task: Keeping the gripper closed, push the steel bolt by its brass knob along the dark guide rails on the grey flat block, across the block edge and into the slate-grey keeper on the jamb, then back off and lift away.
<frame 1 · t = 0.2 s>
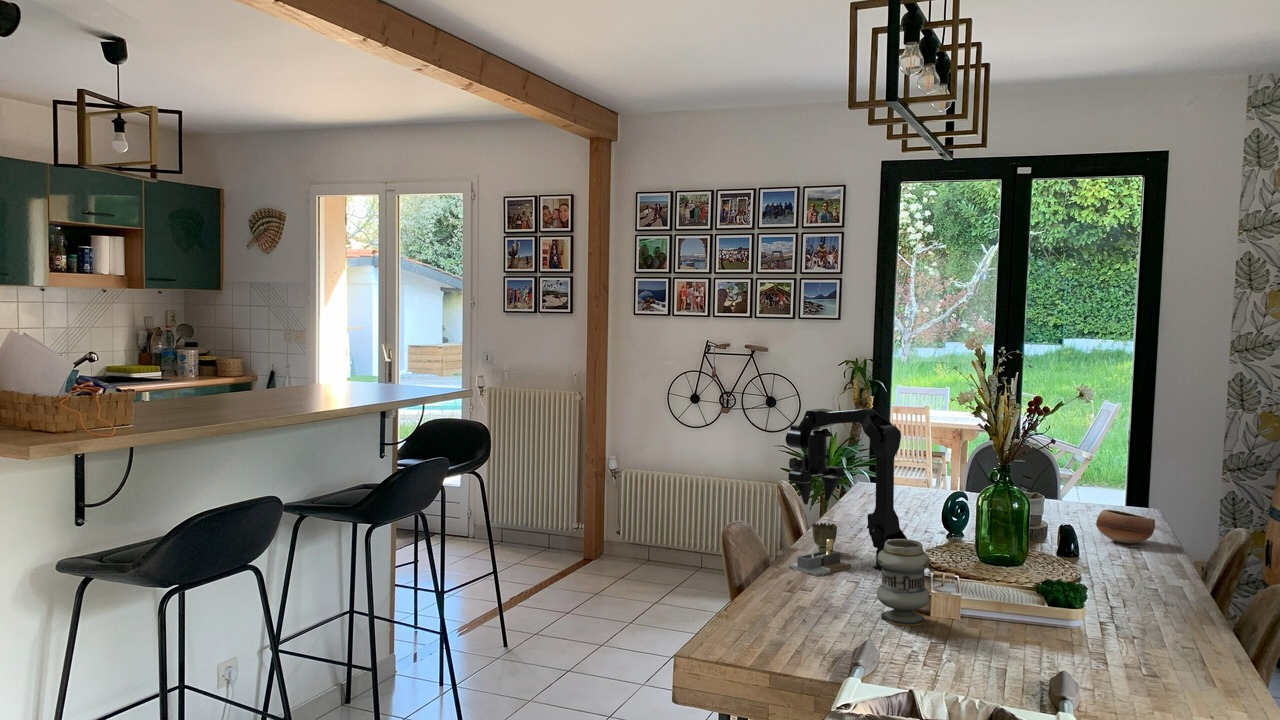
hand: (816, 502, 285), 14 cm above the table, fingers open, 9 cm apart
cup: (824, 552, 283), on the table
bowl: (1123, 543, 297), on the table
apothecary jar: (902, 620, 220), on the table
bolt: (825, 551, 266), point 4 cm above the table, slide at 0.0 cm
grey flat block: (827, 566, 266), on the table
jamb keeper: (809, 570, 262), on the table
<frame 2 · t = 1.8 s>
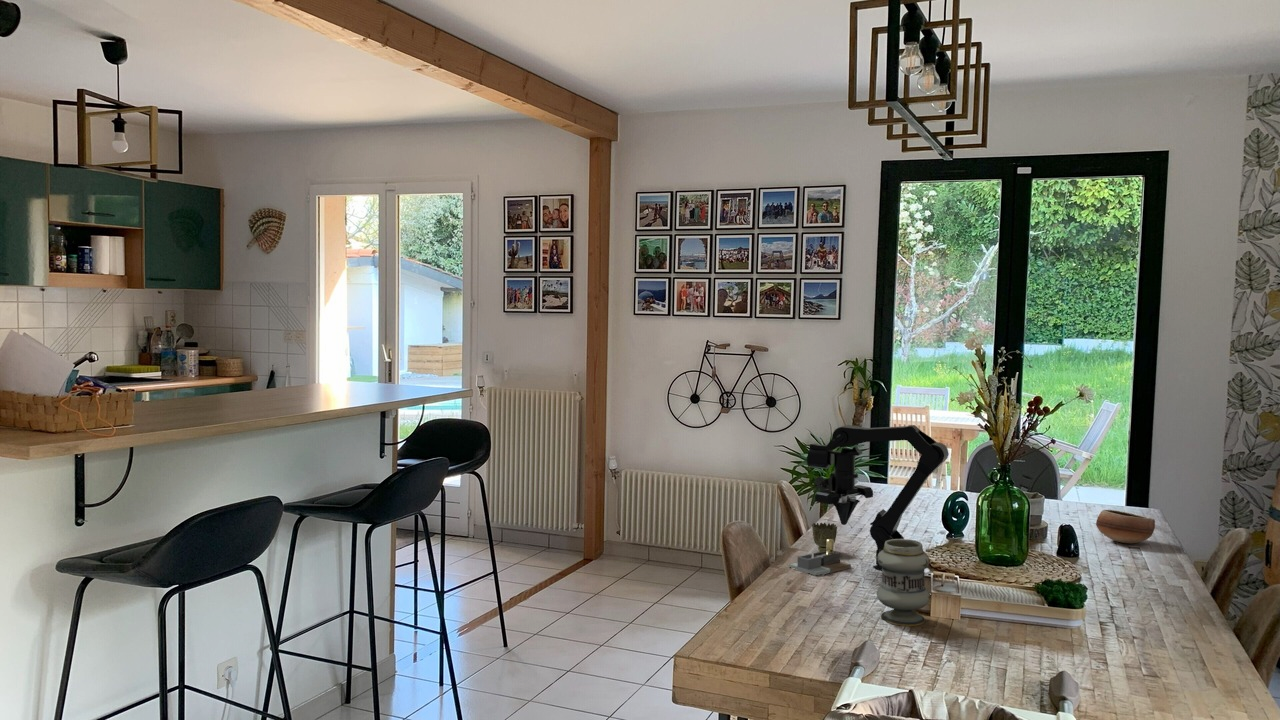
hand: (843, 524, 270), 11 cm above the table, fingers closed
nothing on the table moved.
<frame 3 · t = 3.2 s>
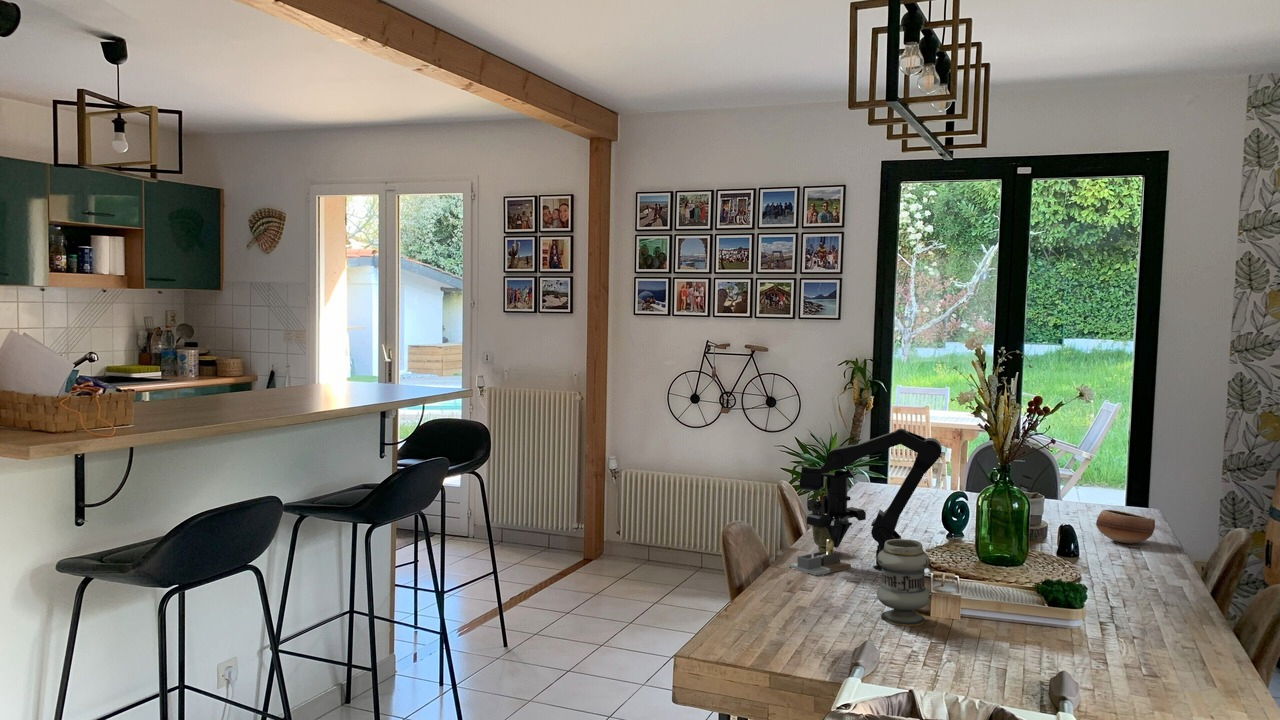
hand: (835, 547, 268), 5 cm above the table, fingers closed
bolt: (825, 551, 266), point 4 cm above the table, slide at 0.0 cm, touching gripper
everything else where it was.
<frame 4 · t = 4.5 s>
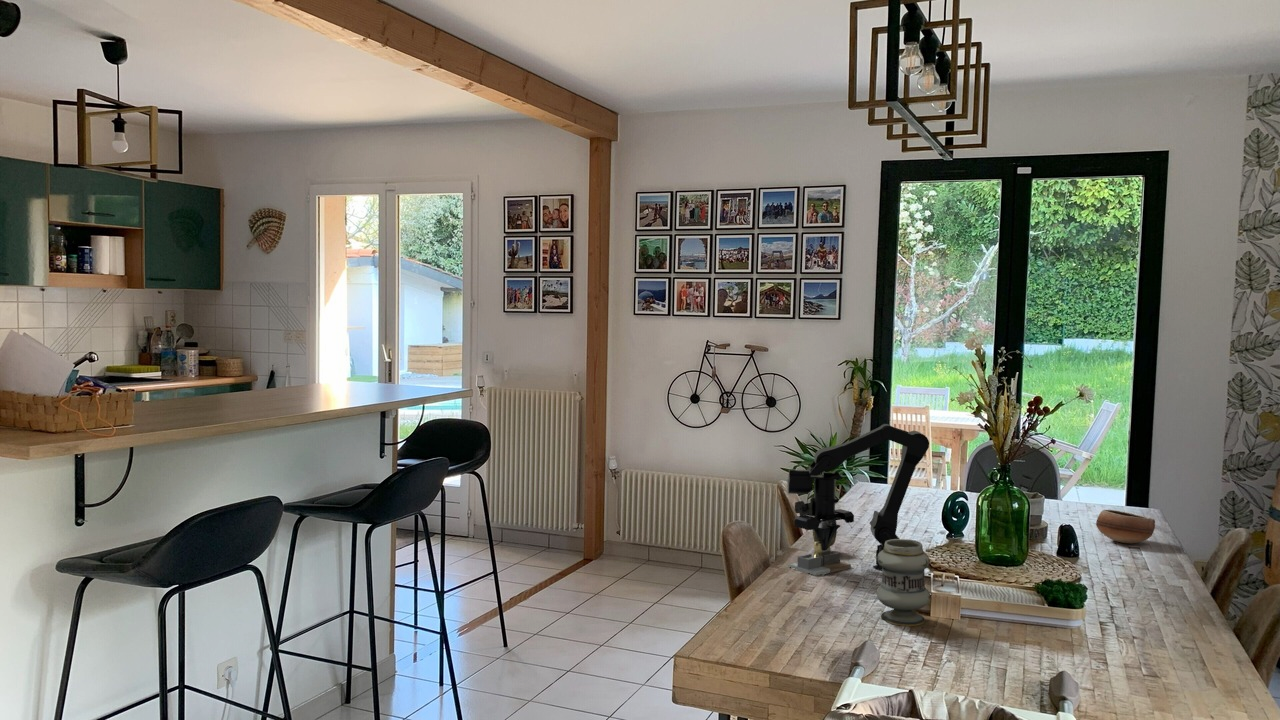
hand: (823, 549, 265), 5 cm above the table, fingers closed
bolt: (812, 554, 263), point 4 cm above the table, slide at 5.0 cm, touching gripper
everything else where it was.
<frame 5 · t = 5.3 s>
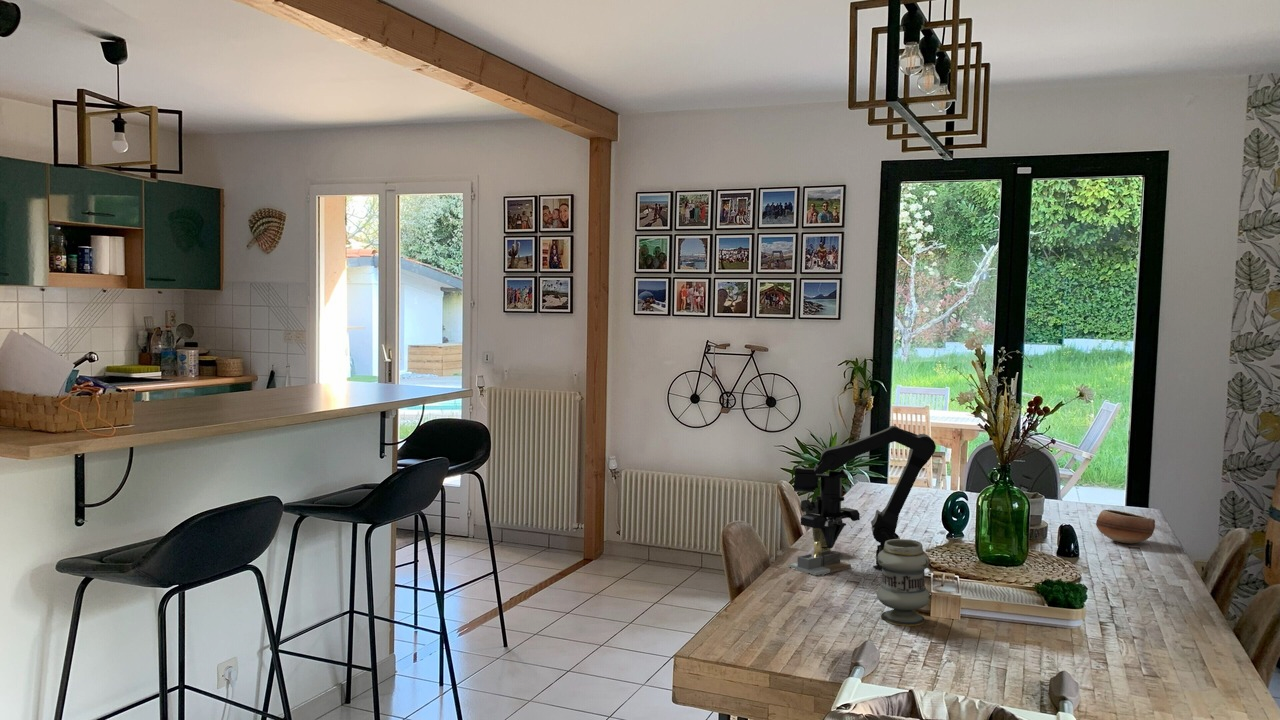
hand: (830, 548, 267), 5 cm above the table, fingers closed
bolt: (812, 554, 263), point 4 cm above the table, slide at 5.0 cm
everything else where it was.
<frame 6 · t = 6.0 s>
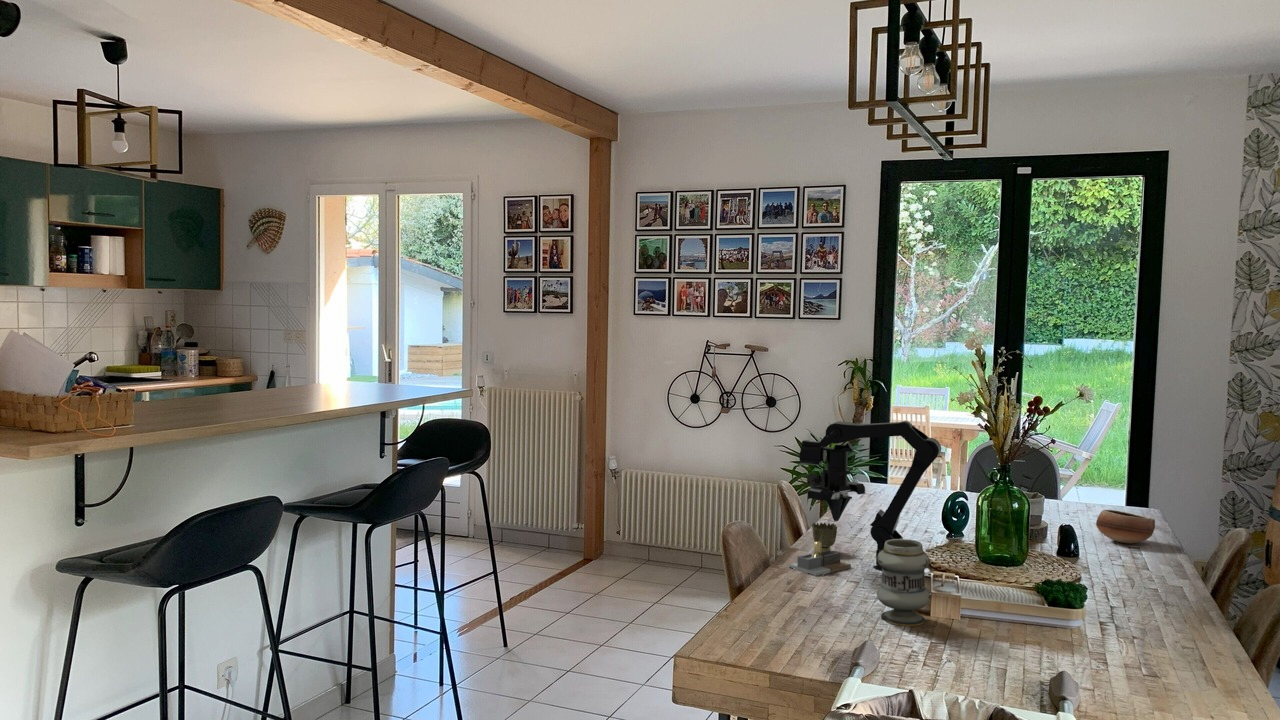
hand: (836, 521, 269), 12 cm above the table, fingers closed
nothing on the table moved.
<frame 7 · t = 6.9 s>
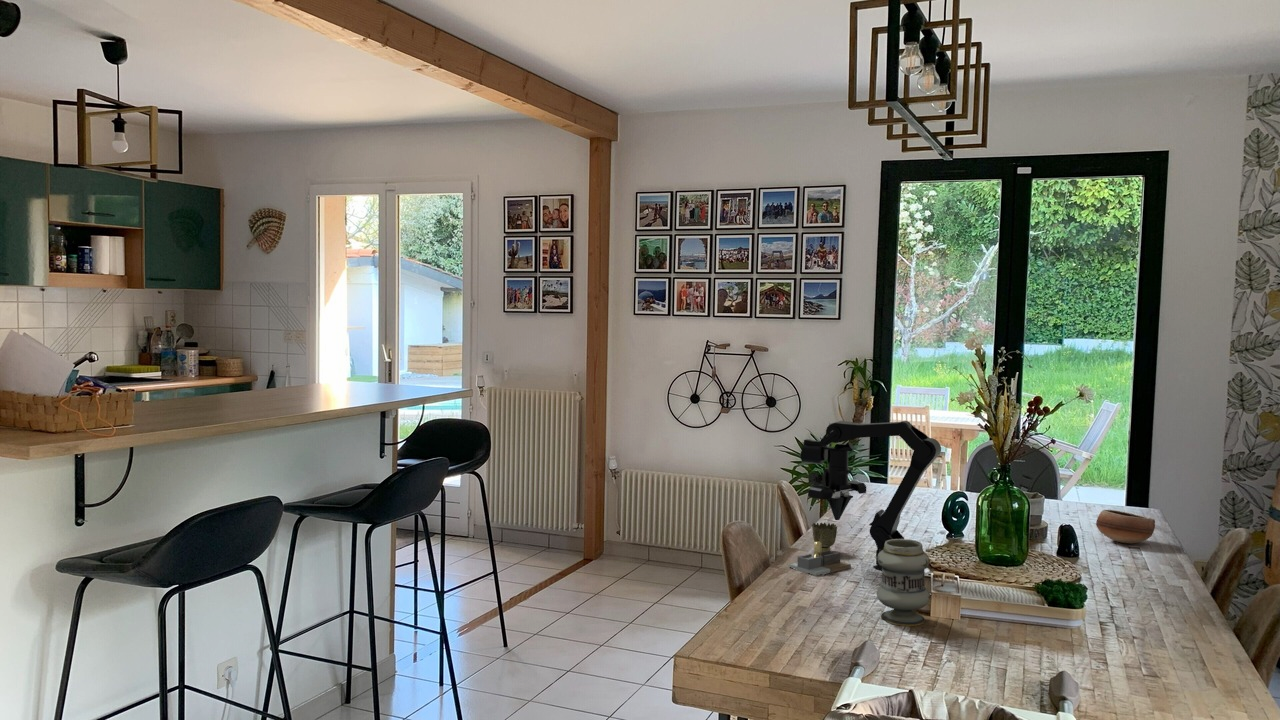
hand: (837, 519, 271), 12 cm above the table, fingers closed
nothing on the table moved.
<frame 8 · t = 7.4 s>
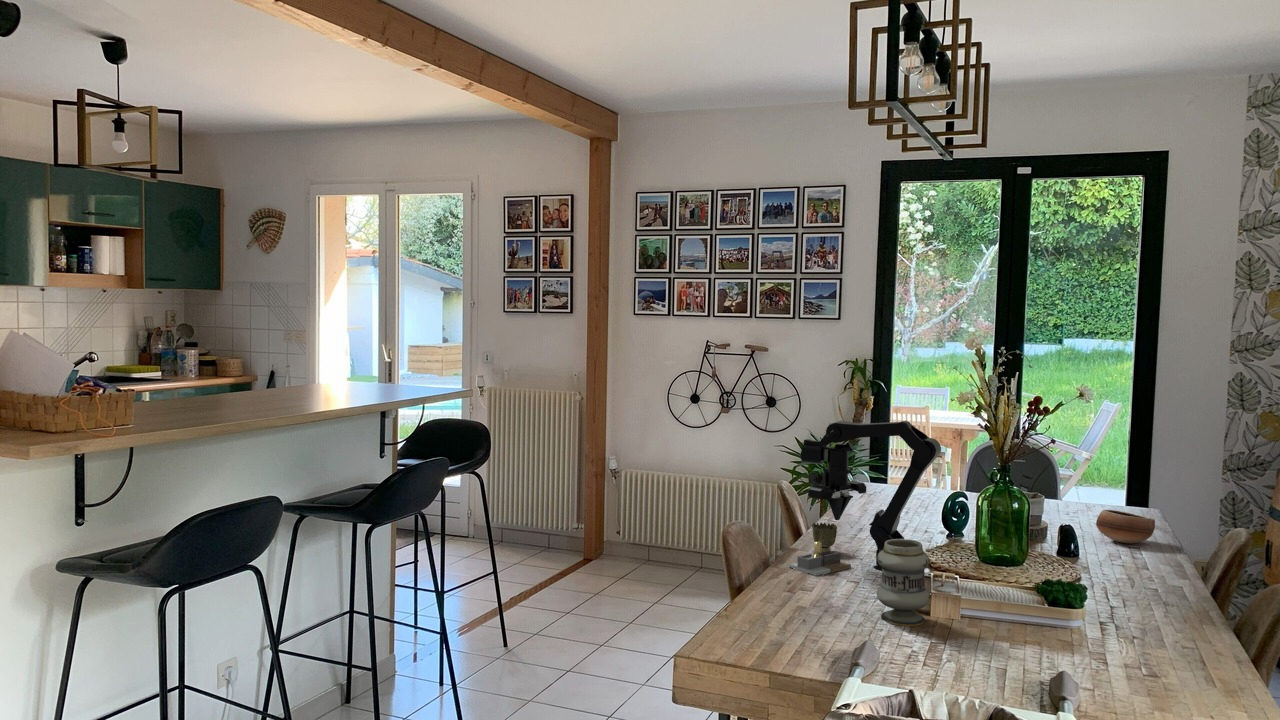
hand: (837, 519, 271), 12 cm above the table, fingers closed
nothing on the table moved.
at the end: bolt slide at 5.0 cm; cup moved 0.2 cm from its start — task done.
